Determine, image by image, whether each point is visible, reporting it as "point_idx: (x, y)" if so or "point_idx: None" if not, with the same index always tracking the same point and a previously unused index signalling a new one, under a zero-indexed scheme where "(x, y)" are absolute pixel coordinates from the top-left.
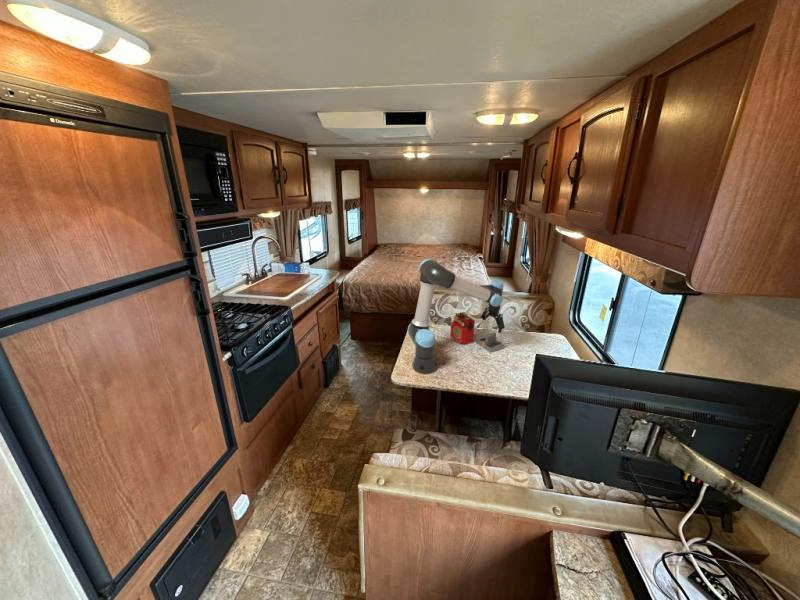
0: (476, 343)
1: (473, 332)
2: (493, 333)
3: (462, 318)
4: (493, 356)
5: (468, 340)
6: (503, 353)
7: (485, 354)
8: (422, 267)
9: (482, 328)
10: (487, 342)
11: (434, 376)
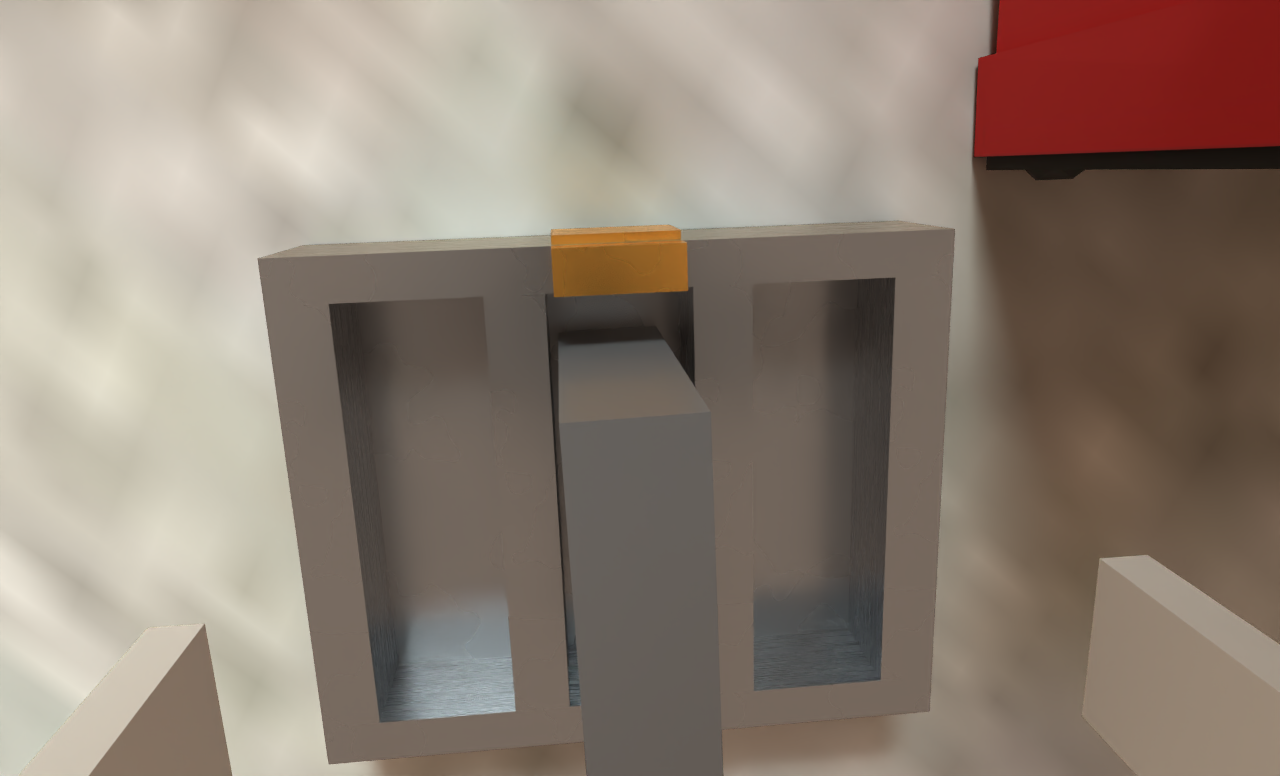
0: (873, 222)
1: (1200, 163)
2: (681, 769)
3: None
4: (111, 187)
5: None
6: (154, 529)
7: (285, 49)
8: None
9: (1131, 560)
10: (562, 360)
11: None
